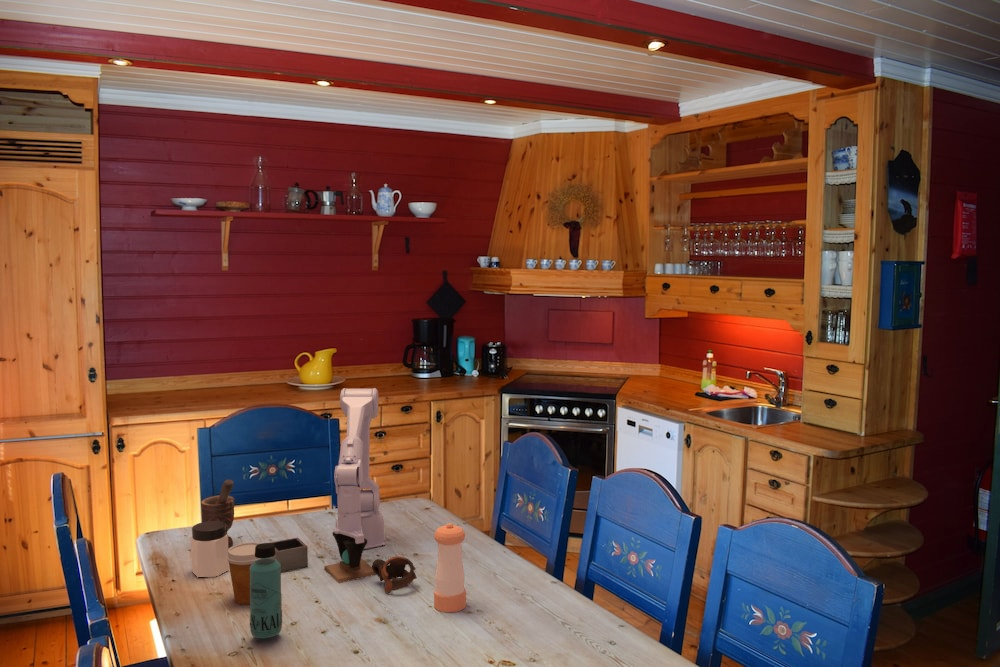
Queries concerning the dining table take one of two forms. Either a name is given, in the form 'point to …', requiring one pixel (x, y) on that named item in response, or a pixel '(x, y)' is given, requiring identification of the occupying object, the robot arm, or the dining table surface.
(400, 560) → the pottery mug
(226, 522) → the mortar and pestle
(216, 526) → the jar
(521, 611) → the dining table surface
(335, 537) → the robot arm
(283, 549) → the open box
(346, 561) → the ball
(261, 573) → the beverage bottle
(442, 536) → the salt shaker
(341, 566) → the stand
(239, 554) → the disposable coffee cup
